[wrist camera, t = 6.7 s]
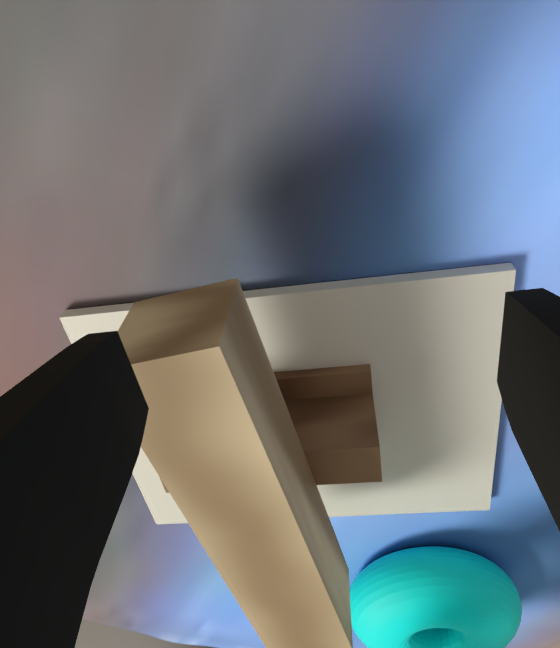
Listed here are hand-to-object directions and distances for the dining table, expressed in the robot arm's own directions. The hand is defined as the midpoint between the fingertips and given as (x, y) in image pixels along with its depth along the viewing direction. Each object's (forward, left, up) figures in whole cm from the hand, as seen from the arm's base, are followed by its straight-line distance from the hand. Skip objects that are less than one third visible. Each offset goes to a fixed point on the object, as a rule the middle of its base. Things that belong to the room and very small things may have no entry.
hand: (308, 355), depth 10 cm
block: (+3, +10, -9) cm, 14 cm away
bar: (+3, +9, -6) cm, 11 cm away
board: (+2, +11, -10) cm, 15 cm away
